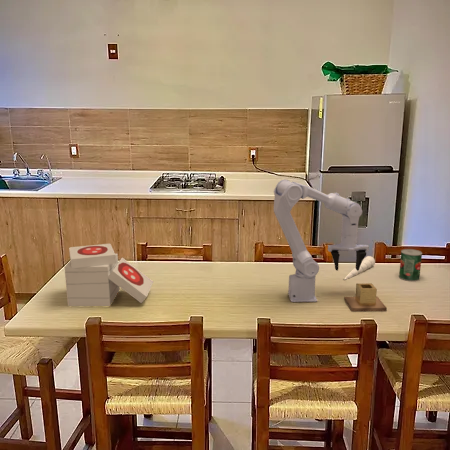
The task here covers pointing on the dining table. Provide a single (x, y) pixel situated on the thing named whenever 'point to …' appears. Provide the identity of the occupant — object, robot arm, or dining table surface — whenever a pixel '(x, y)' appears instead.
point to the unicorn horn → (362, 267)
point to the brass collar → (366, 294)
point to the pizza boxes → (101, 277)
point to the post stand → (356, 307)
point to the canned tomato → (410, 265)
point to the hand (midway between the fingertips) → (346, 269)
